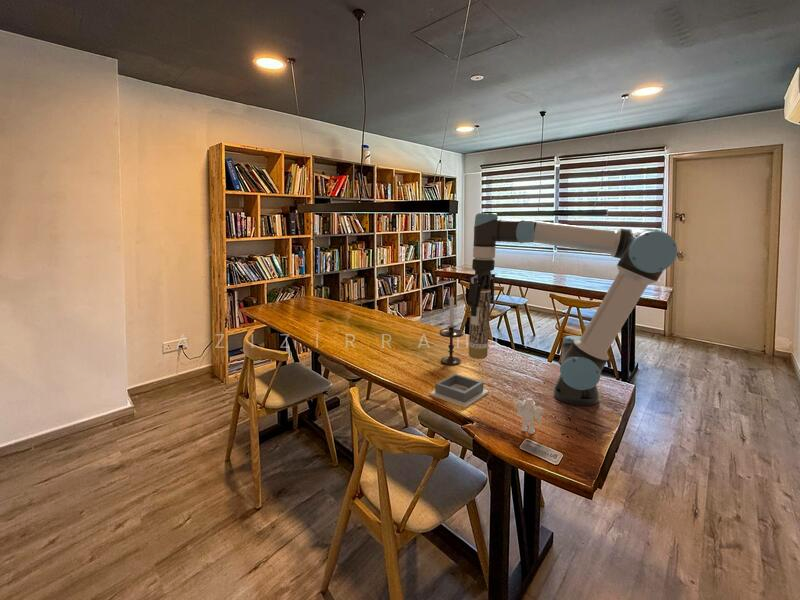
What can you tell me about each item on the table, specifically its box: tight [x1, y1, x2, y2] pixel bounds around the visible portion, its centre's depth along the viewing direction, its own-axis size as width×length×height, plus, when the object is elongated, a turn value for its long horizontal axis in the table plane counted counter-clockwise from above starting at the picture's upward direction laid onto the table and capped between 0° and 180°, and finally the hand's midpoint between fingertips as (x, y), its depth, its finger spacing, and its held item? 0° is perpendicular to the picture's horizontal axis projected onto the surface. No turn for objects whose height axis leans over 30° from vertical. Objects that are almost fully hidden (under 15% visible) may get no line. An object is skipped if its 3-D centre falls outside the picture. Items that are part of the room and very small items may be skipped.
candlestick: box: [439, 287, 464, 366], centre depth 180 cm, size 11×11×35 cm
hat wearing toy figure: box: [514, 393, 545, 435], centre depth 122 cm, size 9×4×12 cm, turn 48°
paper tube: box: [468, 289, 491, 360], centre depth 142 cm, size 7×7×25 cm
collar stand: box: [429, 373, 490, 409], centre depth 149 cm, size 16×16×4 cm
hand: (480, 322), depth 142 cm, fingers closed on paper tube, 7 cm apart
